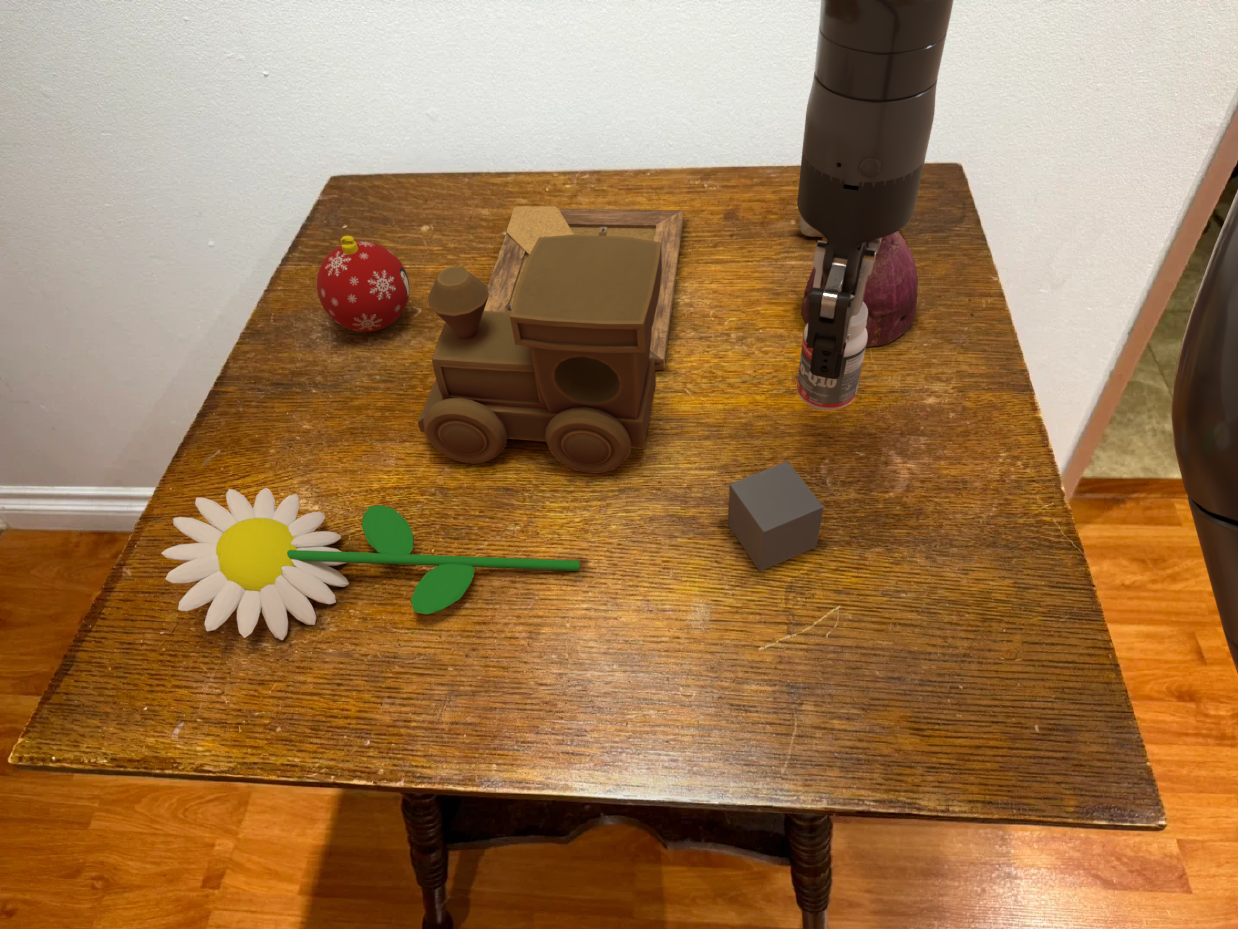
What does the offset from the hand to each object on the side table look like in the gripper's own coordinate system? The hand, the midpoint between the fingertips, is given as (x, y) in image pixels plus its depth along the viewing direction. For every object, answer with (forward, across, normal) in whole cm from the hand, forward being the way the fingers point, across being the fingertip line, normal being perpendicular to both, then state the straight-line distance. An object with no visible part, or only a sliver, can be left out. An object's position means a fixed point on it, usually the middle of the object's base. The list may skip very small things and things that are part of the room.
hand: (832, 350), depth 68 cm
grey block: (+10, +12, -1) cm, 15 cm away
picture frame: (+10, -13, -27) cm, 31 cm away
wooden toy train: (+10, +6, -22) cm, 25 cm away
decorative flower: (+10, +24, -28) cm, 38 cm away
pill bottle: (+5, 0, 0) cm, 5 cm away
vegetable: (+10, -17, 0) cm, 19 cm away
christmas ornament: (+10, -2, -45) cm, 46 cm away
